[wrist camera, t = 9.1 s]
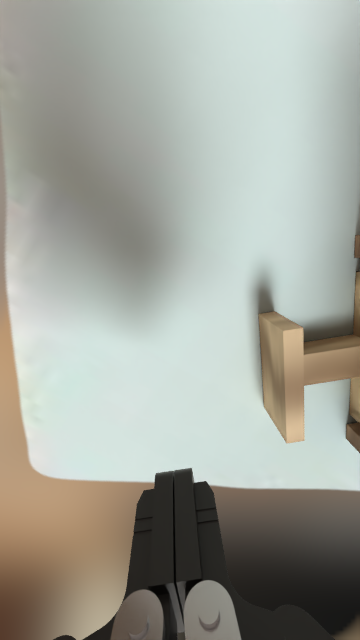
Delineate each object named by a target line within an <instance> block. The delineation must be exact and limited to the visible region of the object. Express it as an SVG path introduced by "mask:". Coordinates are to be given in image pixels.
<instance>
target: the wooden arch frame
mask: <svg viewBox="0 0 360 640" xmlns="http://www.w3.org/2000/svg"><path fill="white" fill-rule="evenodd" d="M354 258H360V235H355V257H354ZM346 439H347V440H348V441H349V442H350V443H351V444H352V445H353V446H354V447H355V449H356V450H357V451H358V452H359V453H360V423H359V422H358V423H352V424H347V431H346Z"/></svg>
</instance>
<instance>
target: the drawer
mask: <svg viewBox="0 0 360 640" xmlns="http://www.w3.org/2000/svg"><path fill="white" fill-rule="evenodd" d="M259 329H260V346H261V362H262V379H263V395H264V408H265V409H266V411H267V413H268V414H269V416H270V417H271V419H272V421H273V422H274V424H275V425H276V427H277V429H278V430H279V432H280V433H281V435H282V437H283V438H284V440H285V441H286V443H293V442H299V441H304V386H305V385H311V384H317V383H324V382H330V381H336V380H342V379H348V378H351V388H350V409H349V414H350V415H351V416H352V417H353V418H354V419H355V420H356V421H358V422H359V423H360V271H357V272H356V285H355V306H354V326H353V334H352V335H346V336H340V337H334V338H327V339H321V340H315V341H308V342H303V327H301V326H299V325H298V324H296V323H294V322H292V321H291V320H289V319H287V318H285V317H284V316H282V315H280V314H278V313H277V312H275V311H274V312H267V313H261V314H259Z"/></svg>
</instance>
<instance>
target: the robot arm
mask: <svg viewBox="0 0 360 640" xmlns="http://www.w3.org/2000/svg"><path fill="white" fill-rule="evenodd" d="M180 632H185V637H186V640H335V639H334V638H333V637H332V636H331V635H330V634H329V633H328V632H327V631H326V630H325V629H323V627H321V625H320V624H319V623H317V621H316V620H314V619H313V618H312V617H311V616H310V615H309V614H308V613H307V612H306V611H304V610H303V609H301V608H299V607H297V606H293V605H283V606H281V607H279V608H277V609H276V610H275V611H274V612H272V611H270V610H266V609H263V608H260V607H257V606H254V605H252V604H249V603H248V602H246V601H245V600H243V599H242V598H241V597H240V596H239V595H238V594H237V592H236V591H235V589H234V588H233V586H232V584H231V582H230V580H229V577H228V573H227V567H226V561H225V556H224V550H223V545H222V539H221V534H220V527H219V522H218V515H217V511H216V504H215V498H214V493H213V491H212V489H211V488H210V486H209V485H208V483H207V482H206V481H204V482H197V483H194V478H193V472H192V468H188V469H181V470H175V471H168V472H162V473H156V475H155V487H154V489H151V490H144V491H143V493H142V495H141V497H140V499H139V501H138V503H137V509H136V517H135V525H134V536H133V541H132V549H131V557H130V565H129V573H128V580H127V588H126V593H125V596H124V599H123V602H122V604H121V606H120V608H119V610H118V611H117V613H116V614H115V616H114V617H113V618H112V619H111V620H110V621H109V622H108V623H107V624H106V625H105V626H103V627H102V628H101V629H99V630H97V631H96V632H94V633H93V634H91V635H89V636H88V637H86V638H85V639H83V640H178V638H177V633H180ZM54 640H76V639H75V638H73V637H72V636H69V635H63V636H60V637H57V638H56V639H54Z"/></svg>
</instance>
